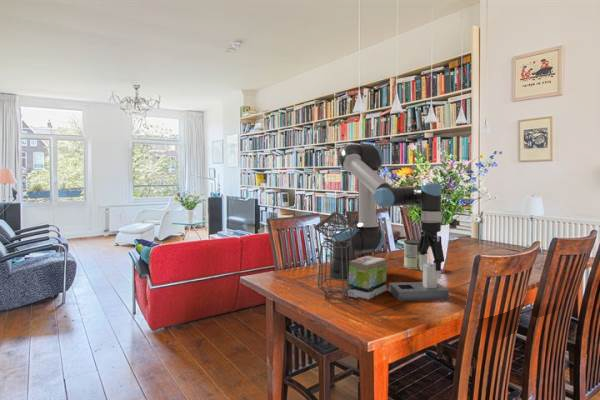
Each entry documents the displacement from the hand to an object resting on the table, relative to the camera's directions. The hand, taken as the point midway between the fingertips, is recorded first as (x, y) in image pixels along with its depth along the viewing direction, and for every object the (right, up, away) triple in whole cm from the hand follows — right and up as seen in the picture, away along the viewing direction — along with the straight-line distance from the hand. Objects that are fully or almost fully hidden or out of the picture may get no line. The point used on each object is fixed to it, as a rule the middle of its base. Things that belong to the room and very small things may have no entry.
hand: (430, 274), depth 153 cm
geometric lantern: (-38, -10, +3) cm, 39 cm away
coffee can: (+8, -6, +49) cm, 50 cm away
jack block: (-5, -9, 0) cm, 11 cm away
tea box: (-25, -10, +4) cm, 27 cm away
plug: (0, -8, +1) cm, 8 cm away
